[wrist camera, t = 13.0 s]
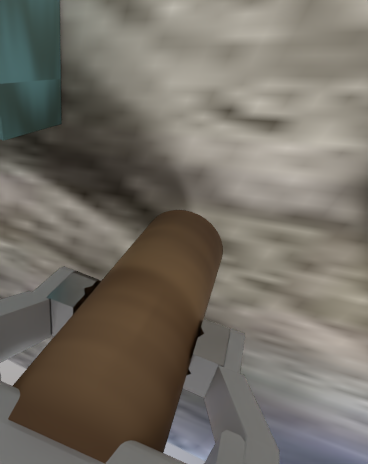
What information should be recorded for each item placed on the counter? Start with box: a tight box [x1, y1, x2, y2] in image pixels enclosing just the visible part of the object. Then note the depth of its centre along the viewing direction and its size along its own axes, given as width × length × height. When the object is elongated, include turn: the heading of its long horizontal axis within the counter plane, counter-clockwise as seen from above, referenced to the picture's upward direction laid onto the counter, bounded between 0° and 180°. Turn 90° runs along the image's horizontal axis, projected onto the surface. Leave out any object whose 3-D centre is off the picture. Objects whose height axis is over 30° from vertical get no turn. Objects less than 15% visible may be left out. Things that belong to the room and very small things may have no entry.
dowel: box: [8, 210, 223, 464], centre depth 11 cm, size 4×4×10 cm
